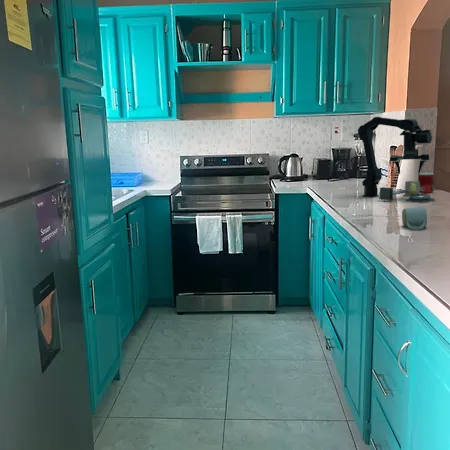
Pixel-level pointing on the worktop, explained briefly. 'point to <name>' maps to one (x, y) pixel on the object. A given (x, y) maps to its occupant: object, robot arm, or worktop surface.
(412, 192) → the handwheel
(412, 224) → the ceramic mug
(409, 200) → the wheel base
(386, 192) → the block-headed metal hammer
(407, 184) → the grey-green hollow piece
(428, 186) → the canned food
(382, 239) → the worktop surface
